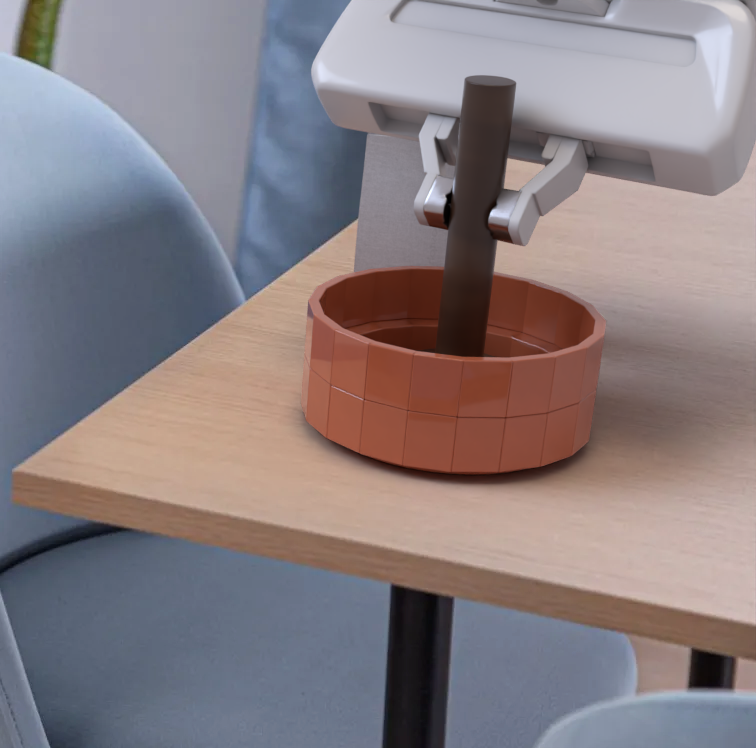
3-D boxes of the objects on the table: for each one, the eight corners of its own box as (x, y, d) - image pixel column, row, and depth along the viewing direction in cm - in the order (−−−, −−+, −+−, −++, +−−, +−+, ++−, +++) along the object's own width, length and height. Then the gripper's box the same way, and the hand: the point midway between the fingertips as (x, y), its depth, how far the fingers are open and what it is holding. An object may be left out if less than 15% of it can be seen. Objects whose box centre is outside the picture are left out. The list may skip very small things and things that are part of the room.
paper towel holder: (477, 366, 84) (513, 65, 78) (539, 409, 80) (582, 92, 73) (372, 377, 82) (401, 68, 76) (430, 421, 78) (465, 96, 71)
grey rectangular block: (480, 348, 90) (502, 153, 86) (348, 336, 91) (364, 142, 86) (481, 325, 93) (503, 137, 89) (354, 313, 94) (370, 126, 90)
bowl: (494, 363, 88) (507, 257, 86) (646, 464, 77) (665, 345, 75) (256, 389, 83) (263, 277, 81) (382, 499, 72) (394, 373, 70)
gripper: (362, -98, 82) (241, 146, 79) (798, -47, 73) (682, 233, 70) (396, -10, 88) (285, 223, 84) (806, 49, 78) (699, 313, 75)
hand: (468, 228), depth 77 cm, fingers closed on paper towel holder, 2 cm apart
